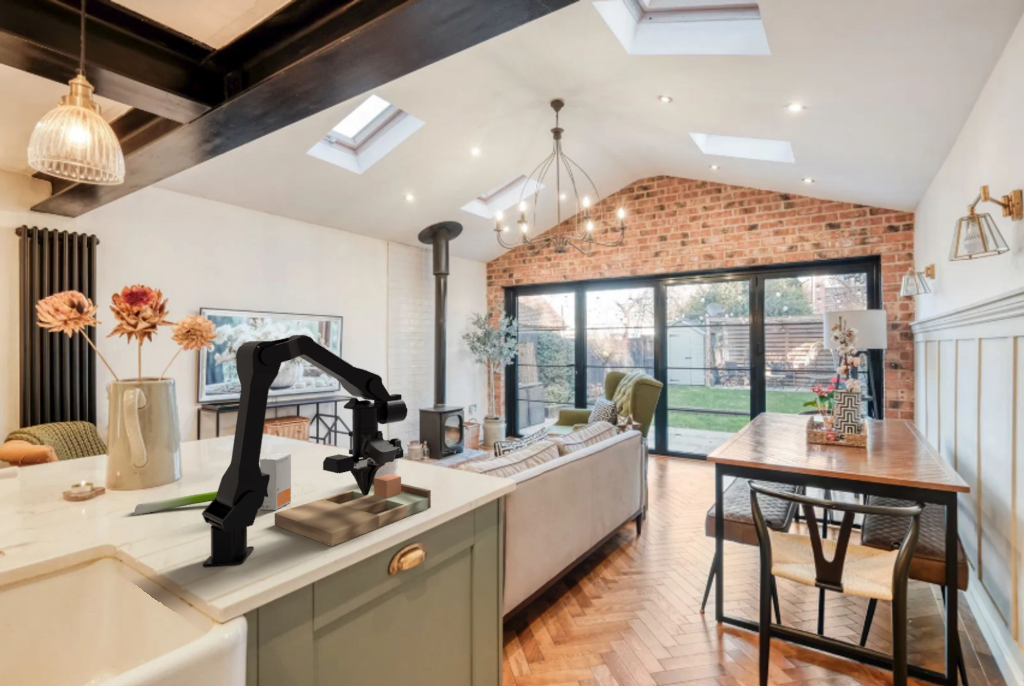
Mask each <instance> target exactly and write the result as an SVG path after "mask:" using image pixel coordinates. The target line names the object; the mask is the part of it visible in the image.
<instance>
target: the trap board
mask: <svg viewBox="0 0 1024 686" xmlns="http://www.w3.org/2000/svg"><path fill="white" fill-rule="evenodd" d="M374 478H375V477H374ZM431 491H432V490H431V489H426V488H423V487H419V486H414V485H410V484H405V483H401V493H400V494H397V495H394V496H391V497H388V498H385V497H381V496H377V495H374V479H373V482H372V485H371V488H370V491H369V494H368V495H363V494H362V492H361V490H360V488H359V487H357V488H354V489H350V490H347V491H343V492H340V493H337V494H335V495H331V496H327V497H324V498H320V499H317V500H314V501H311V502H307V503H305V504H302V505H298V506H294V507H290V508H287V509H285V510H284V509H283V510H281V511H278V512H274V526H276V527H279V528H283V530H284V529H285V530H286V531H287V530H288V531H290V532H293V533H295V534H297V535H299V536H300V535H301V536H303V537H305V536H306V537H305V538H308V537H309V539H311V538H312V539H311V540H313V539H315V540H314V541H316V540H318V541H317V542H319V541H320V542H319V543H321V542H323V543H322V544H324V543H326V544H329V545H331V546H330V547H334V546H336V545H335V544H337V545H339V544H338V543H340V544H342V543H344V541H345V542H347V541H349V539H350V540H352V539H354V537H355V538H357V537H359V535H360V536H362V535H364V533H365V534H366V533H369V531H370V532H373V531H374V530H377V529H379V528H382V527H384V526H386V525H390V524H392V523H394V522H397V521H399V520H401V519H405V518H407V517H409V515H410V516H412V515H414V513H415V514H417V513H419V511H420V512H422V511H424V510H427V509H430V508H431V506H432V500H431V496H432V495H431V494H432V492H431ZM411 514H412V515H411ZM404 517H405V518H404ZM361 534H362V535H361ZM356 536H357V537H356ZM351 538H352V539H351ZM341 542H342V543H341ZM326 544H325V545H326ZM329 545H328V546H329ZM333 545H334V546H333Z"/></svg>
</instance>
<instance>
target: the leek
mask: <svg viewBox="0 0 1024 686" xmlns="http://www.w3.org/2000/svg"><path fill="white" fill-rule="evenodd" d="M216 495H217V491H211V492H204V493H198V494H192V495H187V496H180V497H174V498H167V499H162V500H155V501H150V502H149V501H148V502H145V503H144V502H143V503H138V504H137V505H136V506H135V508H134V513H133V516H134V515H135V516H138V515H137V514H142V515H144V514H143V513H149V514H151V513H150V512H153V513H156V512H157V513H158V512H160V511H164V510H171V509H174V508H175V509H177V508H180V507H186V506H190V505H195V504H196V505H197V504H202V503H207V502H212V501H213V500H214V498H215V497H216Z"/></svg>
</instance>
